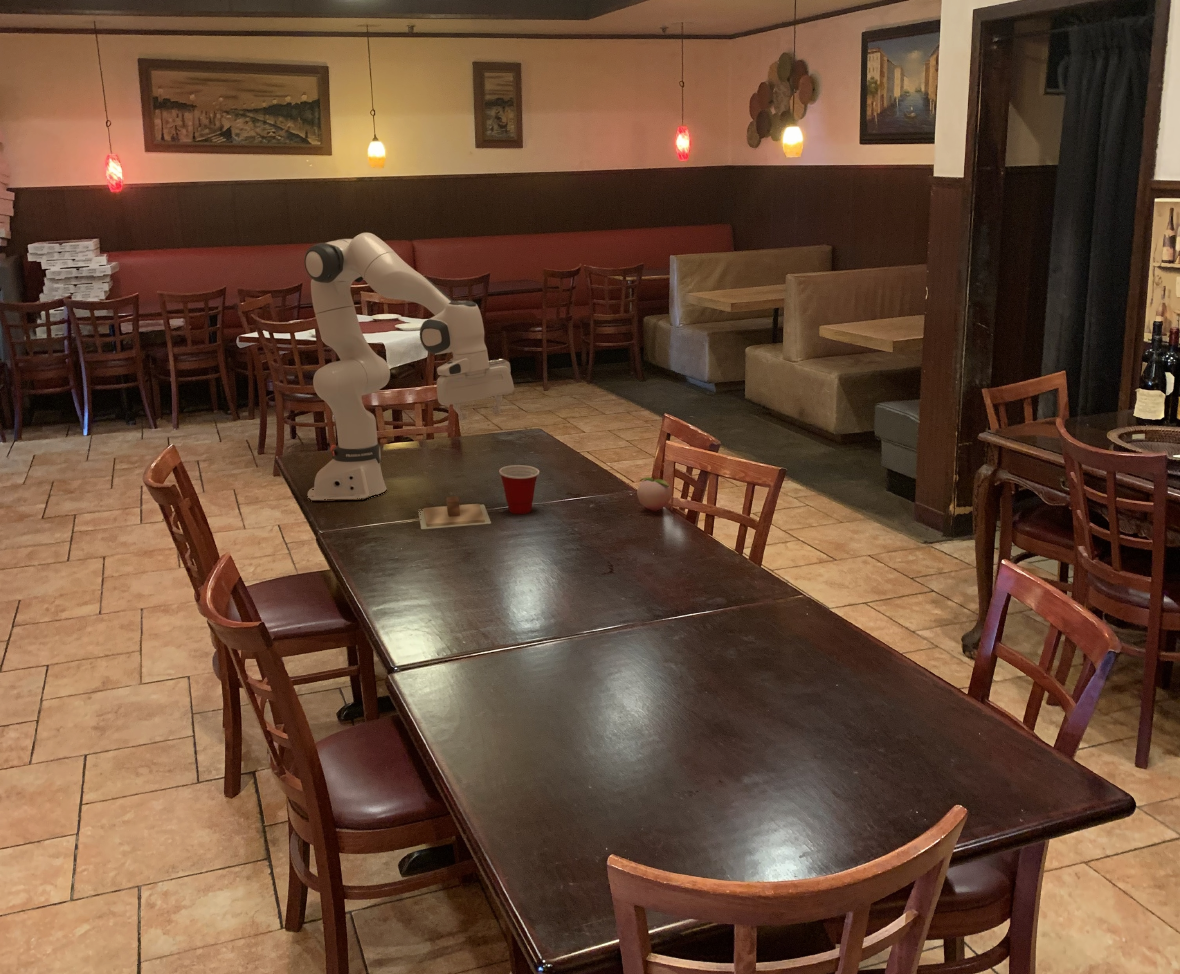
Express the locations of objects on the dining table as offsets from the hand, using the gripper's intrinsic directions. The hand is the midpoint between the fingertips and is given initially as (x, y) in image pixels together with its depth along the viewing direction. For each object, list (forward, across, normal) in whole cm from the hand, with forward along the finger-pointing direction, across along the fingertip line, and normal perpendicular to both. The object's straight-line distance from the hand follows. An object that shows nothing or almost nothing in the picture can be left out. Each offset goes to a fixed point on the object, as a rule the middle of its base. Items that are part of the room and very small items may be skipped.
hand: (480, 416), depth 287 cm
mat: (+26, +9, -7) cm, 29 cm away
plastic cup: (+28, -8, -2) cm, 29 cm away
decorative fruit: (+32, -39, +16) cm, 53 cm away
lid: (+26, +9, -7) cm, 28 cm away
